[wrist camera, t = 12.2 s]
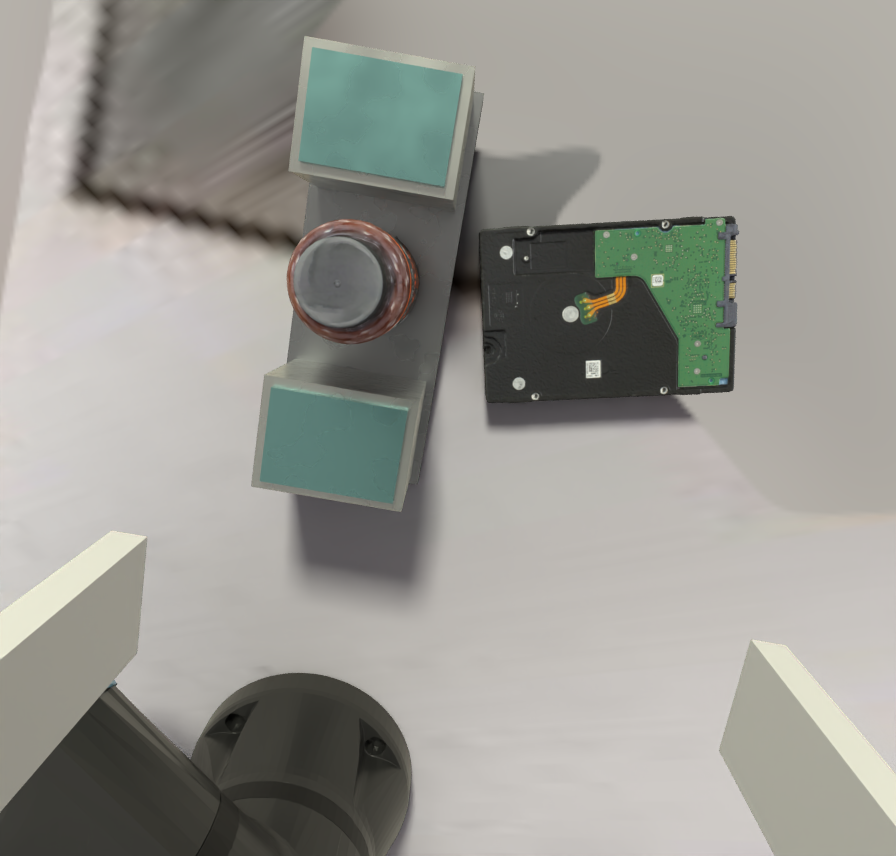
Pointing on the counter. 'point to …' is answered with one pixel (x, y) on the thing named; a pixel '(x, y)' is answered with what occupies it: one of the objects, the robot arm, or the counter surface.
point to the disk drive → (609, 309)
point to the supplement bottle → (352, 281)
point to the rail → (403, 215)
